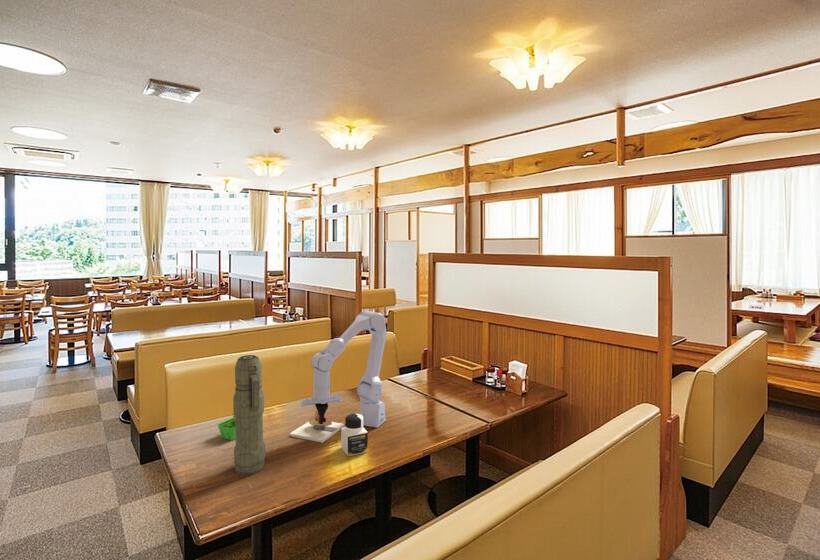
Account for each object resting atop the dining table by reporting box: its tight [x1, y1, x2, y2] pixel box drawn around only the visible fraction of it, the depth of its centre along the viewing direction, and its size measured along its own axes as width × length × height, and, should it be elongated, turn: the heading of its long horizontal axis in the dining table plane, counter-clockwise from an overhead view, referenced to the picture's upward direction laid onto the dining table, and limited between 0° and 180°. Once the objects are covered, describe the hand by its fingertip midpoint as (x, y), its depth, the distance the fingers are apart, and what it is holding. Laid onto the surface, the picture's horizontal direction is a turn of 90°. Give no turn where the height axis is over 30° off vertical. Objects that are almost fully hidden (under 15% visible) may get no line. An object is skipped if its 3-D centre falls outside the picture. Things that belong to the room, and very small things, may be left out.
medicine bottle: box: [340, 413, 369, 457], centre depth 145 cm, size 7×7×12 cm
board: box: [289, 421, 345, 443], centre depth 160 cm, size 14×15×3 cm
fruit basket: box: [217, 412, 236, 441], centre depth 156 cm, size 11×9×11 cm
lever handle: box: [308, 410, 333, 426], centre depth 159 cm, size 8×11×4 cm
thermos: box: [232, 354, 266, 476], centre depth 131 cm, size 9×12×35 cm
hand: (321, 423), depth 155 cm, fingers closed, pressing on lever handle
